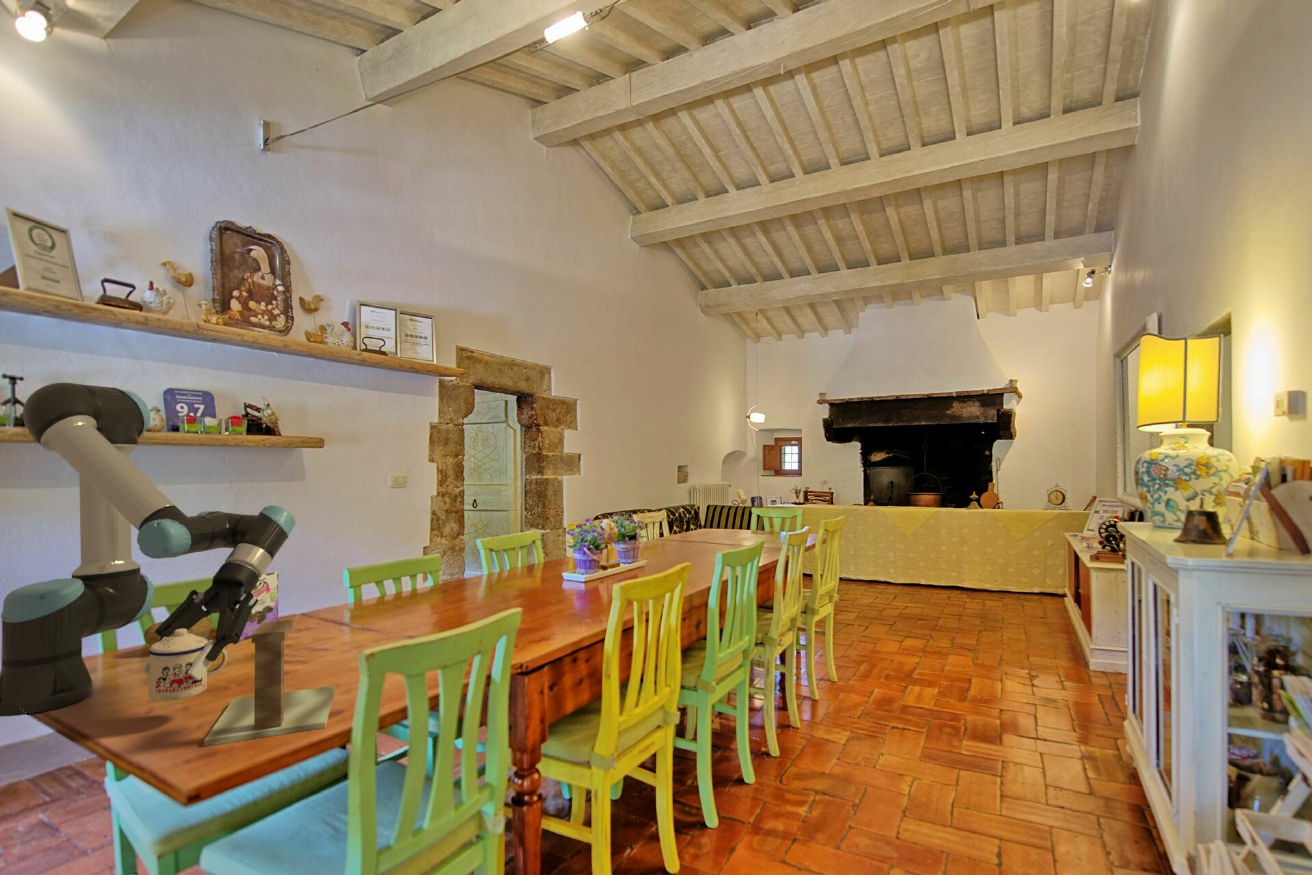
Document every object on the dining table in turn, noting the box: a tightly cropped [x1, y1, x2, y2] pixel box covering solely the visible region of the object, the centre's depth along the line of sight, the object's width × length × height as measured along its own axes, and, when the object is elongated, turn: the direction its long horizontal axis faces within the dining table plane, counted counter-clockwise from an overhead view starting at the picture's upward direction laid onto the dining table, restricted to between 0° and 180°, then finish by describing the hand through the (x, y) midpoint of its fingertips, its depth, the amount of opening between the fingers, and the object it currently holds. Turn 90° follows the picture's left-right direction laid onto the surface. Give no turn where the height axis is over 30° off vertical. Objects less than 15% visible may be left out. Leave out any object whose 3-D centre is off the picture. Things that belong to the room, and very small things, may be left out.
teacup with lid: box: [147, 628, 228, 702], centre depth 119 cm, size 12×9×12 cm
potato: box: [143, 616, 212, 647], centre depth 162 cm, size 10×14×8 cm
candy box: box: [233, 571, 279, 642], centre depth 175 cm, size 14×6×16 cm, turn 165°
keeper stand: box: [203, 619, 337, 747], centre depth 119 cm, size 18×20×18 cm
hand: (170, 674), depth 116 cm, fingers closed on teacup with lid, 9 cm apart
